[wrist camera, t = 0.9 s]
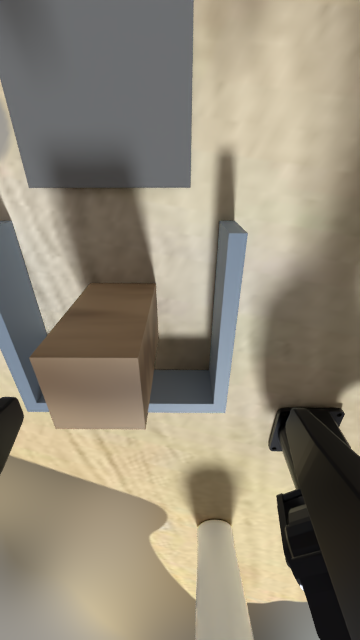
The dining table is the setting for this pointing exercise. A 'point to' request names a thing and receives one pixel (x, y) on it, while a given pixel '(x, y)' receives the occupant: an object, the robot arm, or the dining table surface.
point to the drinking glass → (219, 586)
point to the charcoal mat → (100, 91)
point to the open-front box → (168, 385)
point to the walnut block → (101, 358)
